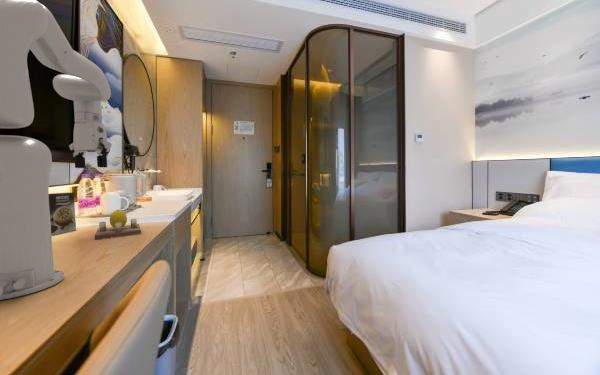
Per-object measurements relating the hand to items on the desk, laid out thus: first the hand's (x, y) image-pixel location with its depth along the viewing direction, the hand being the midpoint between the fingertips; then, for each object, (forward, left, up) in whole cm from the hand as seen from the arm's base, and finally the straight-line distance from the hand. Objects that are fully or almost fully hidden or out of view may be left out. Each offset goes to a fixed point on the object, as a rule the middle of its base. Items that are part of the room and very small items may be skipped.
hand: (91, 167), depth 91 cm
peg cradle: (+4, -7, -26) cm, 27 cm away
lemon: (+4, -7, -25) cm, 26 cm away
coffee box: (+20, +13, -26) cm, 36 cm away
